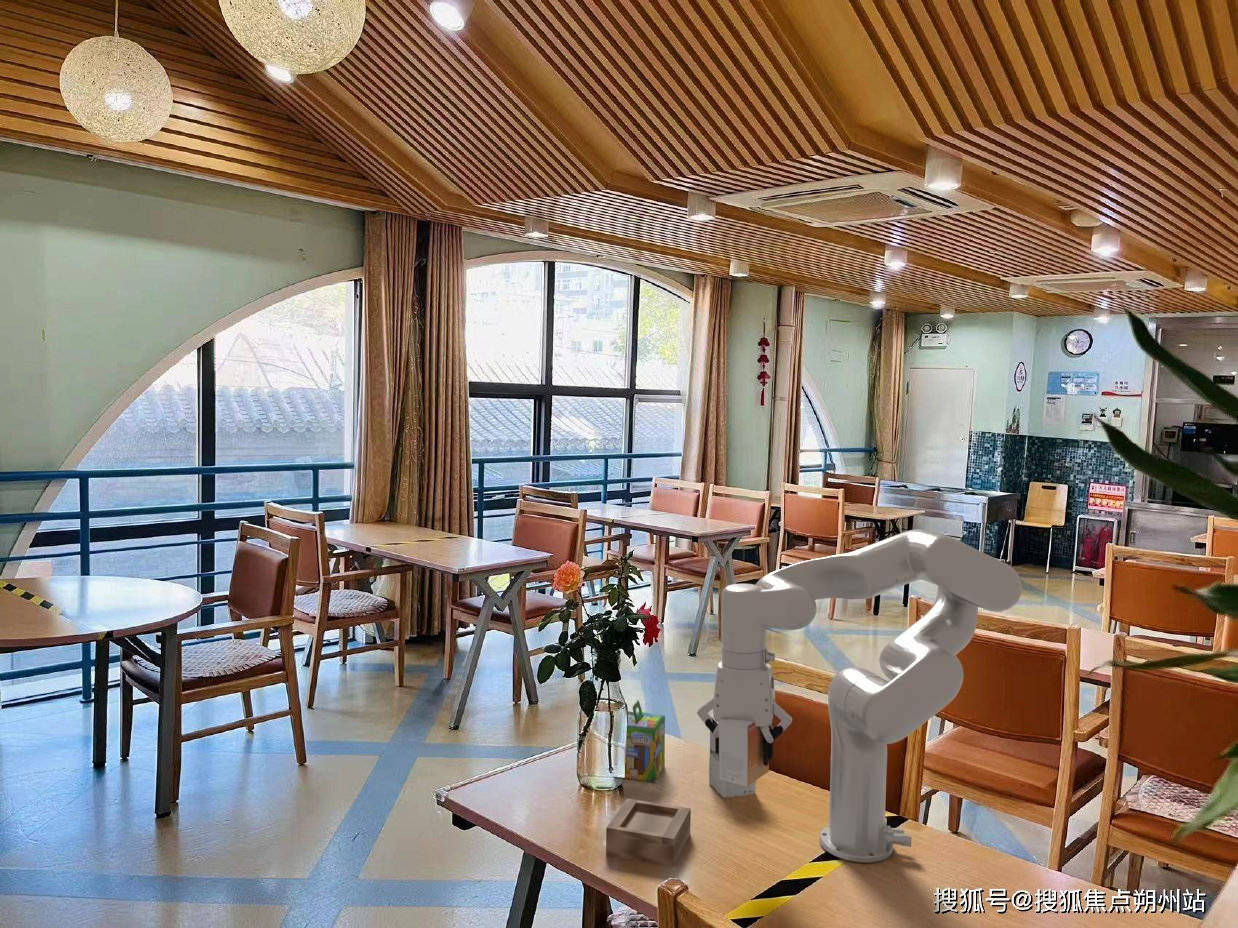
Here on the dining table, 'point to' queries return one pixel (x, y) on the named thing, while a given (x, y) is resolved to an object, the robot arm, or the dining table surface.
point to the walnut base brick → (648, 832)
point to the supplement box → (723, 786)
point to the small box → (740, 752)
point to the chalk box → (645, 745)
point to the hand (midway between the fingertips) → (744, 759)
